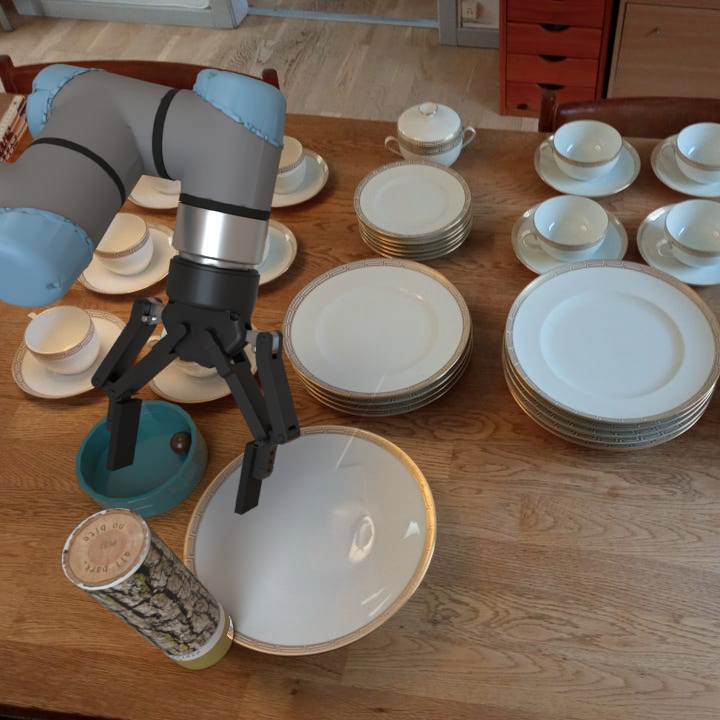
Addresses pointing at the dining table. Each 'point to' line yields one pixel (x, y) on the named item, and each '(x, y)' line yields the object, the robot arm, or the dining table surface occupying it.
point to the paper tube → (147, 587)
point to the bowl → (144, 463)
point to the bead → (181, 442)
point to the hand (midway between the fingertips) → (181, 488)
